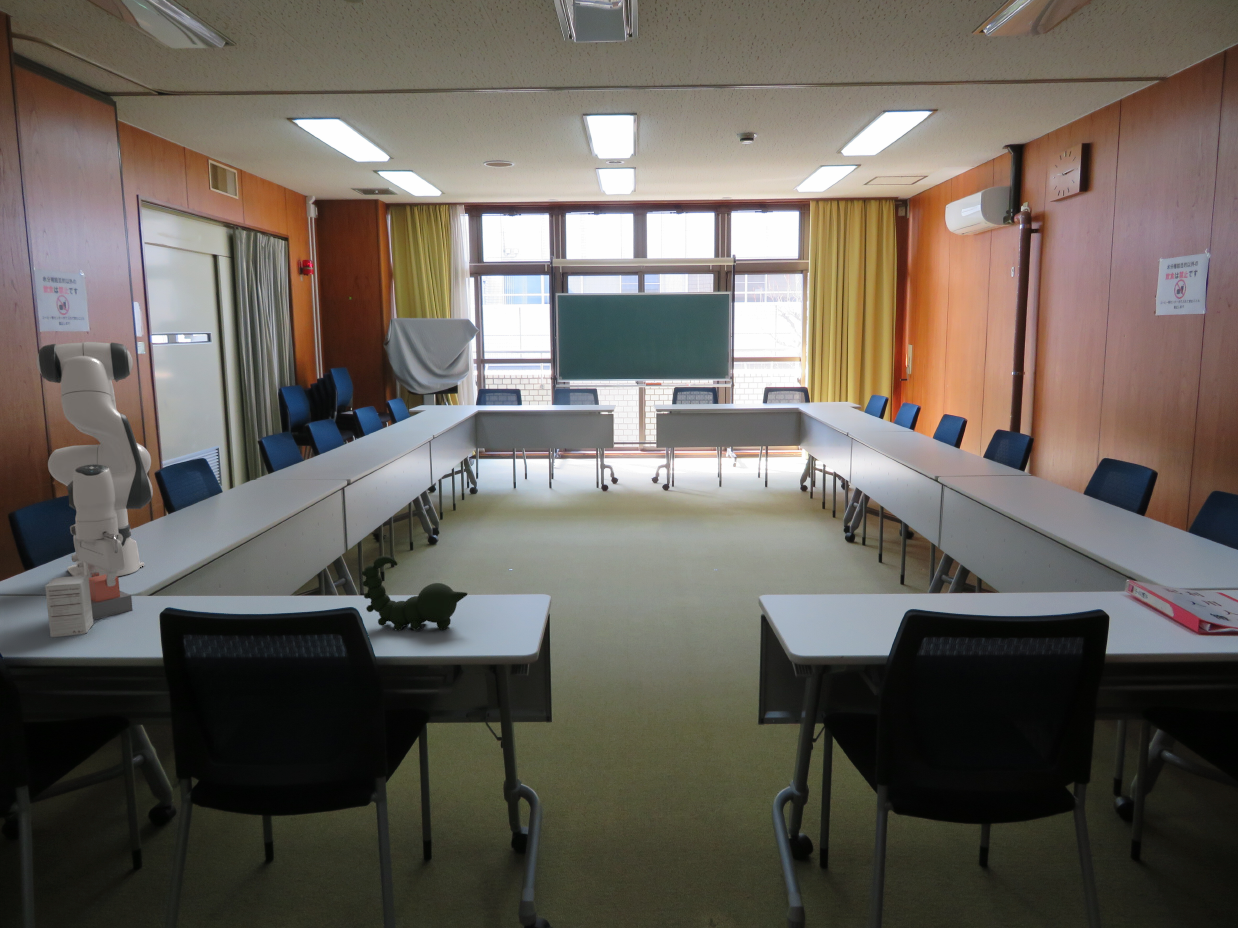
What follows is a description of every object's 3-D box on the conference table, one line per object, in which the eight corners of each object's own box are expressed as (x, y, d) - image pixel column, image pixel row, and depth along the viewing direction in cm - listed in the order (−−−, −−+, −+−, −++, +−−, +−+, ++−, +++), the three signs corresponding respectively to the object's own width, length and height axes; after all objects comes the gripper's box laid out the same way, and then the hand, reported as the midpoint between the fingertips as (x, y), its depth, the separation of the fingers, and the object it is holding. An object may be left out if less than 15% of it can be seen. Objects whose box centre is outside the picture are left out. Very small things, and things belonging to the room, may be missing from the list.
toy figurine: (364, 639, 190) (465, 633, 188) (353, 562, 188) (456, 555, 185) (379, 625, 200) (476, 620, 197) (369, 552, 197) (467, 545, 194)
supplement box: (58, 627, 193) (53, 577, 192) (94, 624, 196) (89, 574, 194) (49, 637, 187) (43, 585, 185) (86, 633, 189) (81, 582, 187)
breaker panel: (68, 610, 206) (66, 594, 205) (110, 600, 214) (109, 585, 213) (89, 620, 198) (87, 603, 198) (132, 610, 206) (131, 593, 206)
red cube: (87, 598, 203) (85, 578, 203) (111, 592, 208) (109, 573, 207) (96, 602, 200) (94, 582, 199) (120, 596, 204) (118, 577, 204)
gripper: (129, 532, 198) (134, 586, 200) (94, 522, 210) (99, 573, 212) (101, 537, 193) (106, 592, 195) (67, 526, 205) (72, 578, 207)
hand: (102, 582), depth 203 cm, fingers open, 8 cm apart
